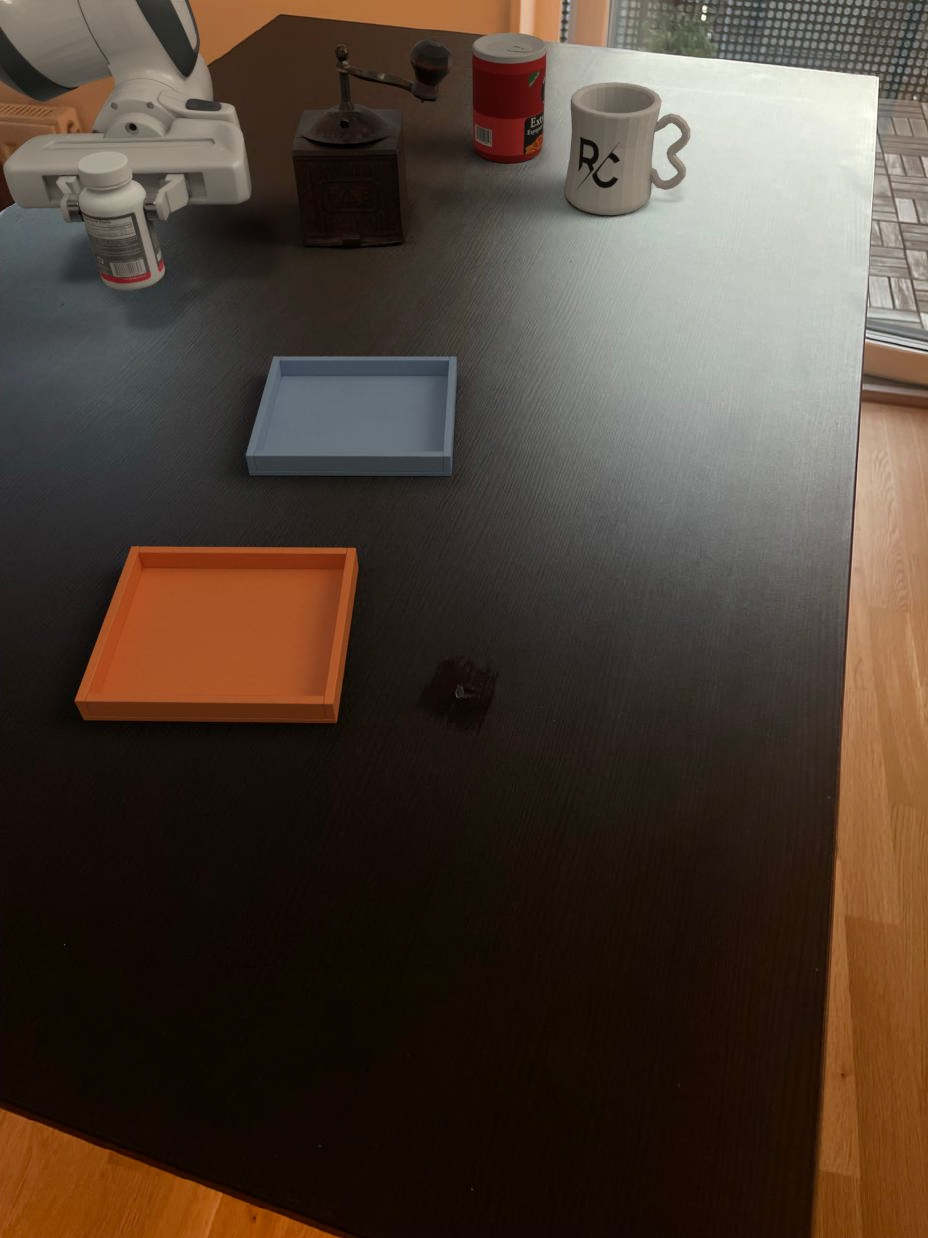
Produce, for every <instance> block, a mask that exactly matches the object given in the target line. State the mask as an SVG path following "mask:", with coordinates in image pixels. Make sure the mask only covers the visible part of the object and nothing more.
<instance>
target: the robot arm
mask: <svg viewBox="0 0 928 1238" xmlns="http://www.w3.org/2000/svg"><path fill="white" fill-rule="evenodd" d="M199 32H200V31H199V29H198V24H197V21H196V17H195V14H194V11H193V9H192V6H191V3H190V0H0V82H2V84H4V85H6V86H7V87H9V88H10V89H12V90H13V91H16V93H17V92H18V93H19V94H21V95H23V96H25V97H28V98H30V99H33V100H35V101H38V102H42V103H45V102H48V101H50V100H53V99H56V98H58V97H60V96H62V95H65V94H67V93H70V92H72V91H74V90H77V89H78V88H79V87H81V86H84V85H87V84H90V83H94V82H97V81H101V80H104V79H107V78H108V79H109V78H111V77H112V78H113V82H114V85H113V88H112V90H111V91H110V93H109V94H108V95H107V98H106V100H104V103H103V105H102V106H101V108H100V110H99V112H98V113H97V116H96V117H95V119H94V122H93V125H92V129H91V132H86V133H85V132H82V133H79V132H78V133H47V134H41V135H37V136H34V137H32V138H29V139H28V140H27V141H25V142H24V143H23V144H22V145H20V146H19V147H18V148H17V149H16V150H15V151H14V152H13V153H12V154H11V155H10V156H9V157H8V158H7V160H5V162H4V164H3V174H4V178H5V181H6V184H7V187H8V190H9V193H10V195H11V197H12V200H13V202H15V203H16V204H17V206H19V207H20V208H22V209H27V210H28V209H29V210H31V209H33V210H34V209H60V211H61V215H62V216H63V219H64V222H65V223H69V224H70V223H71V224H74V223H84V220H83V217H82V214H81V210H80V206H79V195H80V193H81V192H82V190H83V189H84V188H85V187H84V186H83V184H82V182H81V181H80V177H79V174H78V170H77V163H78V161H79V160H80V159H82V158H83V157H85V156H87V155H90V154H93V153H98V152H106V151H109V152H119V153H122V154H124V155H125V156H126V157H127V158H128V161H129V164H130V167H131V170H132V179H131V180H134V181H136V182H138V183H139V184H140V185H141V186H142V187H143V188H144V190H145V192H146V198H144V208H145V210H146V211H147V214H146V216H147V219H148V221H153V222H166V221H167V220H168V218H169V215H170V214H172V213H174V212H176V211H178V210H180V209H182V208H184V207H186V206H225V205H226V206H228V205H229V206H230V205H231V206H232V205H233V206H236V205H240V204H243V203H245V202H247V201H249V200H250V198H251V195H252V179H251V172H250V166H249V160H248V154H247V148H246V143H245V137H244V133H243V131H242V129H241V124H240V120H239V117H238V114H237V110H236V107H235V106H234V105H232V104H231V103H227V102H219V101H214V88H213V80H212V75H211V73H210V70H209V67H208V65H207V63H206V61H205V58H204V57H203V56H202V54H201V53H200V46H201V39H200V33H199Z"/></svg>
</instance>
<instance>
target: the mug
mask: <svg viewBox="0 0 928 1238" xmlns="http://www.w3.org/2000/svg"><path fill="white" fill-rule="evenodd" d="M661 107H662V98H661V97H660V95H659V94H658V92H656V91H655V90H653V89H651V88H648V87H646V86H643V85H640V84H635V83H629V82H617V81H616V82H614V81H612V82H610V81H609V82H600V83H592V84H588V85H585V86H583V87H580V88H579V89H577V90H576V91H575V92H574V93H573V94H572V95H571V97H570V118H571V120H570V121H571V122H570V123H571V138H570V149H569V160H568V165H567V170H566V176H565V181H564V194H565V197H566V199H567V200H568V202H569V203H570V204H571V205H572V206H573V207H575V208H577V209H578V210H580V211H584V212H586V213H589V214H594V215H600V216H601V215H603V216H618V215H625V214H629V213H632V212H636V211H638V210H639V209H641V208H642V207H644V206H645V205H646V204H647V203H648V202H649V200H650V199H651V195H652V190H653V185H654V186H655V187H656V188H657V189H660V190H664V191H668V190H671V189H674V188H675V187H677V186H679V185H680V184H681V183H682V182H683V181H684V179H685V178H686V175H687V167H686V165H685V164H684V162H683V160H681V159H680V157H678V156H677V154H678V153H679V152H680V151H681V150H683V149H684V148H685V146H687V145H688V143H689V141H690V139H691V127H690V126H689V124H688V122H687V121H686V120H685V119H684V118H683V117H682V116H681V115H679V114H675V113H669V114H665V115H663V116H662V117H660V118H659V116H660V112H661ZM670 124H672V125H675V126H676V127H677V128H678V129H679V131H680V132H681V136H680V137H679V138H678V139H677V140H676V141H675V142H673V143H672V144H671V145H670V146H669V147H668V148H667V150H666V157H667V161H668V162H669V163H670V165H671V166H672V167H673V168H674V169H675V170H676V171H677V173H676V174H675V175H674V176H673V177H671V178H669V179H667V180H664V179H662V178H661V177H660V175H659V173H658V170H657V169H656V168H653V154H654V153H653V152H654V143H655V134H656V133H657V132H659V131H660V130H663V129H665V128H666V127H667V126H668V125H670Z"/></svg>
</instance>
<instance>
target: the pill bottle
mask: <svg viewBox="0 0 928 1238" xmlns="http://www.w3.org/2000/svg"><path fill="white" fill-rule="evenodd" d="M77 170H78V174H79V177H80V181H81V182H82V184H83V186H84V187H85V188H84V189H83V190H82V192H81V193H80V195H79V206H80V210H81V214H82V217H83V220H84V222H83V223H84V226H85V230H86V232H87V233H86V234H87V236H88V239H89V242H90V245H91V248H92V252H93V256H94V259H95V262H96V265H97V268H98V272H99V274H100V277H101V280H102V282H103V283H104V285H106V286H107V287H108V288H110V289H112V290H117V291H128V292H129V291H138V290H143V289H146V288H149V287H151V286H154V285H155V284H157V283H158V282H159V281H160V280H161V279H163V277H164V275H165V271H166V267H165V263H164V259H163V255H162V250H161V246H160V243H159V240H158V235H157V231H156V228H155V223H154V221H148V219H147V216H146V214H147V211H146V210H145V208H144V198H146V192H145V190H144V188H143V187H142V186H141V185H140V184H139V183H138V182H136V181H134V180H131V179H132V170H131V167H130V164H129V161H128V158H127V157H126V156H125V155H124V154H122V153H119V152H109V151H106V152H98V153H93V154H90V155H87V156H85V157H83V158H82V159H80V160H79V161H78V163H77Z"/></svg>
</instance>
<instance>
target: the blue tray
mask: <svg viewBox="0 0 928 1238" xmlns="http://www.w3.org/2000/svg"><path fill="white" fill-rule="evenodd" d="M457 361H458V360H457V356H451V355H450V356H278V355H277V356H272V360H271V364H270V367H269V371H268V374H267V378H266V382H265V385H264V389H263V392H262V396H261V398H260V399H261V400H260V403H259V406H258V409H257V412H256V417H255V421H254V424H253V427H252V430H251V435H250V438H249V442H248V446H247V449H246V452H245V460H246V464H247V470H248V473H249V476H279V477H280V476H281V477H282V476H285V477H287V476H291V477H292V476H294V477H296V476H297V477H298V476H299V477H301V476H303V477H304V476H305V477H306V476H308V477H309V476H311V477H452V476H453V475H452V473H453V458H454V457H453V455H454V454H453V453H454V440H455V439H454V438H455V436H454V435H455V419H456V417H455V416H456V404H457V403H456V402H457V401H456V400H457V384H458V362H457Z"/></svg>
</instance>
